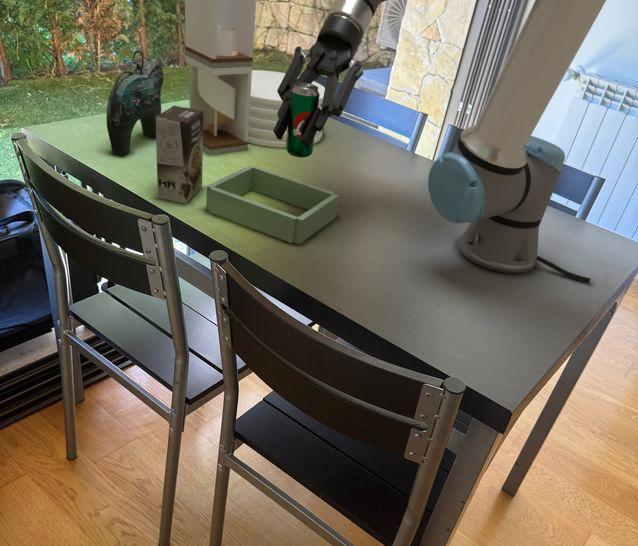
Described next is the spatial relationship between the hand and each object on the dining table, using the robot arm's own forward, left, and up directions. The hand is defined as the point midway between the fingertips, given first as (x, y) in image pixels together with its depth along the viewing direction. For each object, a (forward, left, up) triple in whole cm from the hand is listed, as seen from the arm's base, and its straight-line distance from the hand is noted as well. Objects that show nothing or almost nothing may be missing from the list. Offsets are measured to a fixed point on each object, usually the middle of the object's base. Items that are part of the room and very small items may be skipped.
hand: (291, 139), depth 107 cm
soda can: (0, -4, -4) cm, 5 cm away
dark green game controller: (+47, -13, -17) cm, 52 cm away
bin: (+4, -3, -17) cm, 18 cm away
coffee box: (+23, +2, -17) cm, 29 cm away
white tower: (+35, -27, -17) cm, 48 cm away
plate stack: (+32, -48, -17) cm, 61 cm away
